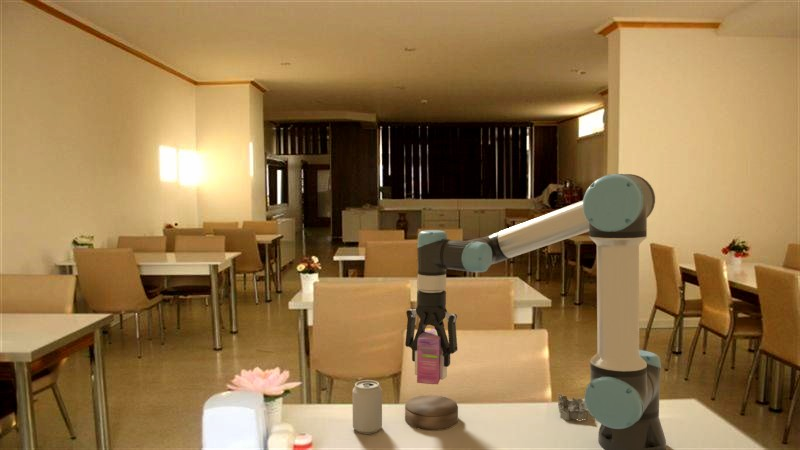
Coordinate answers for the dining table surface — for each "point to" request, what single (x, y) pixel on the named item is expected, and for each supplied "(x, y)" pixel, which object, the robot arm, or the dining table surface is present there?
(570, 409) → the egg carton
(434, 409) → the round lidded container
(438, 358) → the box
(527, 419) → the dining table surface
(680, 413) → the dining table surface
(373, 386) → the can
